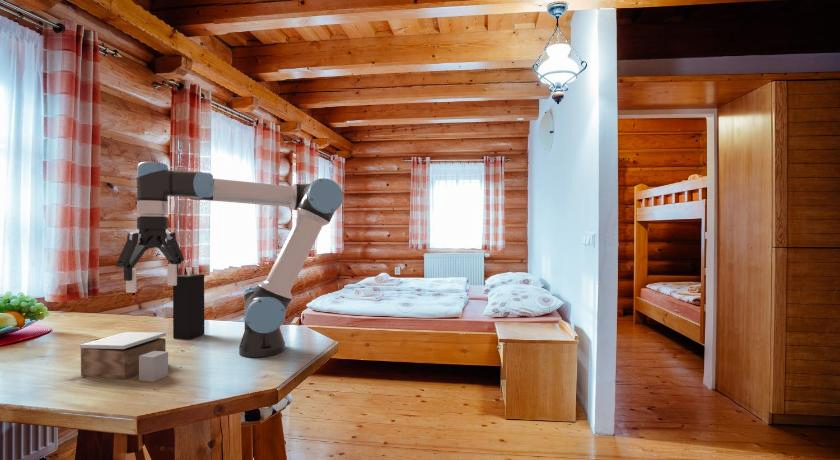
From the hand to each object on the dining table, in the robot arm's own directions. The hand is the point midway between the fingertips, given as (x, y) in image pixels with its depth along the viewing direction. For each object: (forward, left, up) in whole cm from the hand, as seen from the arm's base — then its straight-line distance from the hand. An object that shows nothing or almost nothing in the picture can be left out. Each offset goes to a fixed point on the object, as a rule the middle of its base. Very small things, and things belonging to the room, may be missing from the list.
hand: (152, 288), depth 115 cm
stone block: (0, 0, -26) cm, 26 cm away
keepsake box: (+15, -4, -26) cm, 30 cm away
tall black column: (+24, -39, -26) cm, 53 cm away
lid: (+15, -4, -18) cm, 23 cm away
